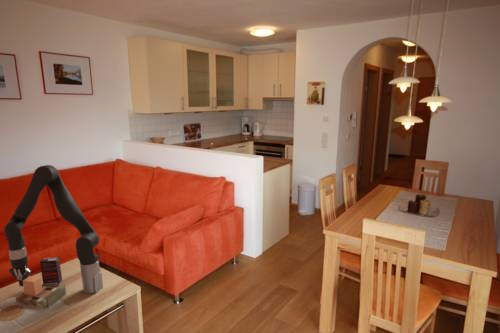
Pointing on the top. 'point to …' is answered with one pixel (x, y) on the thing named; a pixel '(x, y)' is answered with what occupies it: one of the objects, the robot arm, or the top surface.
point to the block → (32, 285)
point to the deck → (43, 297)
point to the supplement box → (51, 271)
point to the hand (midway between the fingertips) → (22, 285)
